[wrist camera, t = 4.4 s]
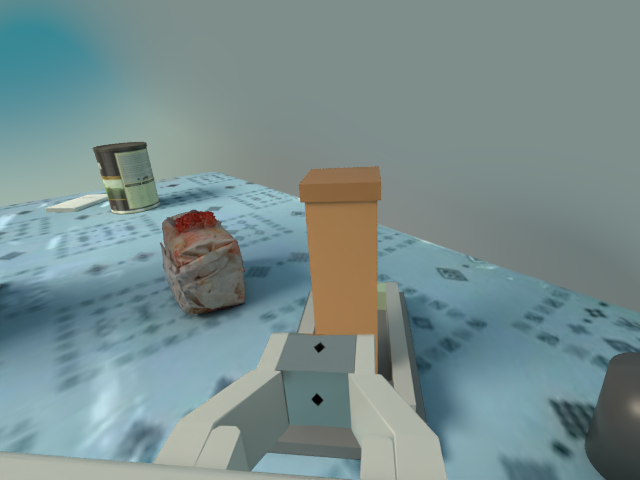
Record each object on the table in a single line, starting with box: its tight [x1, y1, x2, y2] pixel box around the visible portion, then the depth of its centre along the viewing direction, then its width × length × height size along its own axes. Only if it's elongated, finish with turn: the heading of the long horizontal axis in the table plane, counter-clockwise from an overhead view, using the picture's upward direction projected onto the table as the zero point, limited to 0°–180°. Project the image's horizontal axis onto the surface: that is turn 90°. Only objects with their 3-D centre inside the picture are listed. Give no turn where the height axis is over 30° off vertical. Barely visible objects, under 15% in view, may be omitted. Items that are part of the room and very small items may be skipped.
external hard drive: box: [45, 194, 109, 212], centre depth 87 cm, size 2×8×12 cm
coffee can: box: [93, 142, 160, 214], centre depth 78 cm, size 10×10×14 cm
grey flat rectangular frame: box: [268, 282, 427, 460], centre depth 29 cm, size 18×10×3 cm, turn 173°
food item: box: [160, 210, 245, 315], centre depth 40 cm, size 14×8×10 cm, turn 30°
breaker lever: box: [299, 167, 381, 374], centre depth 23 cm, size 4×4×15 cm
